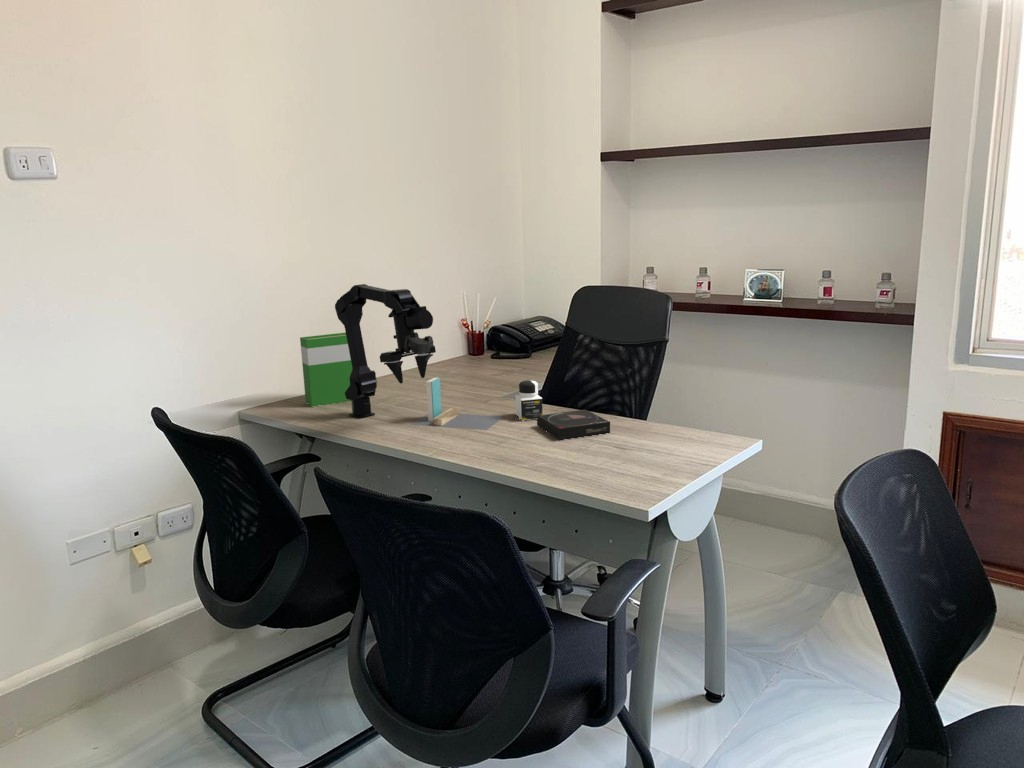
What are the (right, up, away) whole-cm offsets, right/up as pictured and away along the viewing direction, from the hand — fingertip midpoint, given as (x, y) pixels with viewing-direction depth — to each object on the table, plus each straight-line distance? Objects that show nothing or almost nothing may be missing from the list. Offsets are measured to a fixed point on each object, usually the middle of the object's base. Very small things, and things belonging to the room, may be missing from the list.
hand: (412, 380), depth 238 cm
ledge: (+10, -13, +9) cm, 18 cm away
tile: (+6, -6, +9) cm, 12 cm away
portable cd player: (+50, -16, -4) cm, 52 cm away
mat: (+14, -13, +8) cm, 21 cm away
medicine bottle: (+37, -12, +11) cm, 40 cm away
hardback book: (-34, -8, +40) cm, 53 cm away
